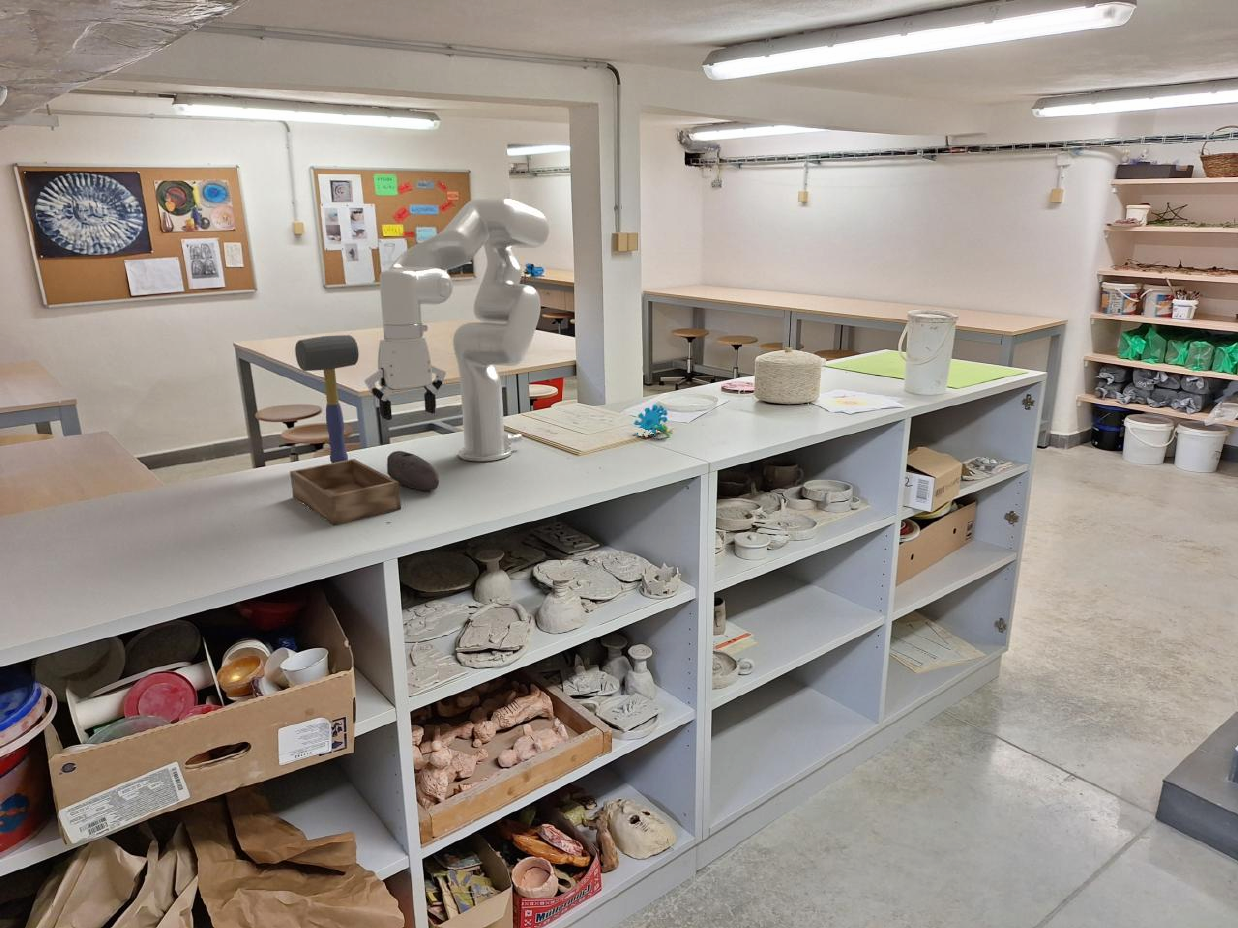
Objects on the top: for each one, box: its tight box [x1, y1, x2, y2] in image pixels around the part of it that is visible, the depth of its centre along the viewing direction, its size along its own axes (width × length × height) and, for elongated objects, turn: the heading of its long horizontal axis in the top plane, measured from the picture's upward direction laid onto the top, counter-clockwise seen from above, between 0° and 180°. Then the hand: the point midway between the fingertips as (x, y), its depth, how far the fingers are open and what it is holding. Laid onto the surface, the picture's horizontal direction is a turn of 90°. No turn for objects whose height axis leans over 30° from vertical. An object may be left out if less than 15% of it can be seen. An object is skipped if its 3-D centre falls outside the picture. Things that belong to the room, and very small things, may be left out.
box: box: [289, 458, 402, 526], centre depth 167 cm, size 14×22×6 cm, turn 40°
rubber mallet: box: [294, 334, 360, 464], centre depth 190 cm, size 12×8×30 cm, turn 130°
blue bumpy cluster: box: [633, 404, 671, 437], centre depth 217 cm, size 11×6×10 cm
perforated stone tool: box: [386, 450, 440, 492], centre depth 177 cm, size 15×5×7 cm, turn 48°
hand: (409, 415), depth 173 cm, fingers open, 9 cm apart
